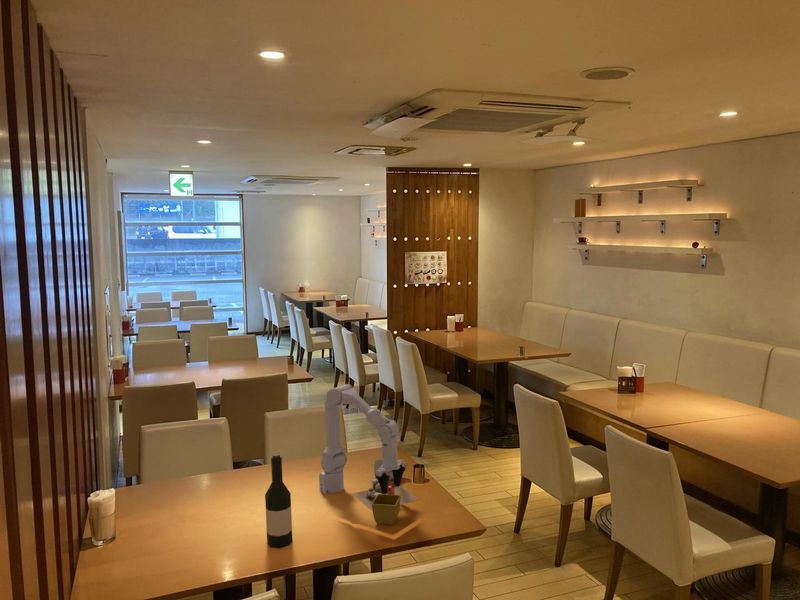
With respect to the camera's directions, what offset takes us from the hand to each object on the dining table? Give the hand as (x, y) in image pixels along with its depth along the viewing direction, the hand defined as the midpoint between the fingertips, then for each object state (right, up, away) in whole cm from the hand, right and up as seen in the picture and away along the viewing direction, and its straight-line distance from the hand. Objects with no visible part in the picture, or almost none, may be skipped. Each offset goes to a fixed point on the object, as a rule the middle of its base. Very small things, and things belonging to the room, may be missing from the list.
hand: (390, 489), depth 228 cm
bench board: (-2, -6, +7) cm, 9 cm away
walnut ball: (-5, -5, +11) cm, 13 cm away
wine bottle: (-37, -10, -26) cm, 46 cm away
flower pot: (-1, -8, -15) cm, 17 cm away
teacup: (-1, -5, +27) cm, 28 cm away
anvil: (-5, -4, +14) cm, 15 cm away
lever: (-4, -5, +3) cm, 7 cm away
